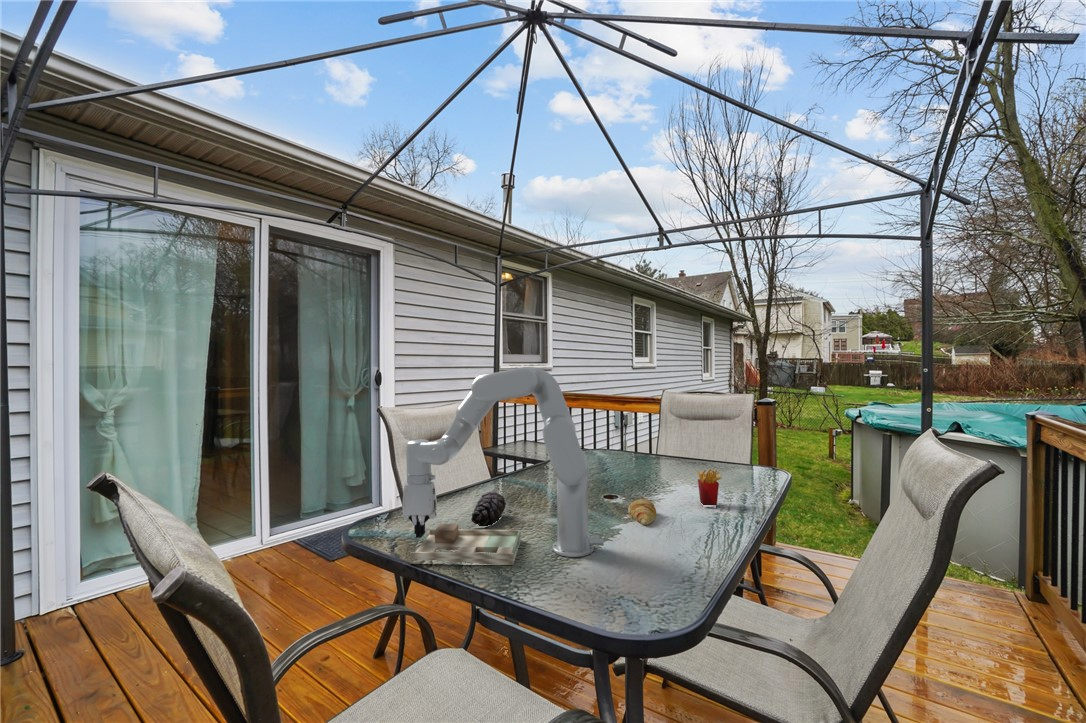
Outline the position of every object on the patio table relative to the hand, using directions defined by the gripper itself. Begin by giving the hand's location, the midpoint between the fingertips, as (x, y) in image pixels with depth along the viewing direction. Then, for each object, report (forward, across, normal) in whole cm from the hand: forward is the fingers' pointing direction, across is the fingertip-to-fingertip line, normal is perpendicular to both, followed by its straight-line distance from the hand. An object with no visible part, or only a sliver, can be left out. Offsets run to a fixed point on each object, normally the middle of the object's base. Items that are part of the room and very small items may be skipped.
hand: (419, 536), depth 153 cm
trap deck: (+3, -17, +4) cm, 18 cm away
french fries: (+3, -103, -42) cm, 111 cm away
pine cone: (+3, -18, -23) cm, 30 cm away
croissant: (+4, -74, -30) cm, 80 cm away
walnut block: (+1, -9, 0) cm, 9 cm away
